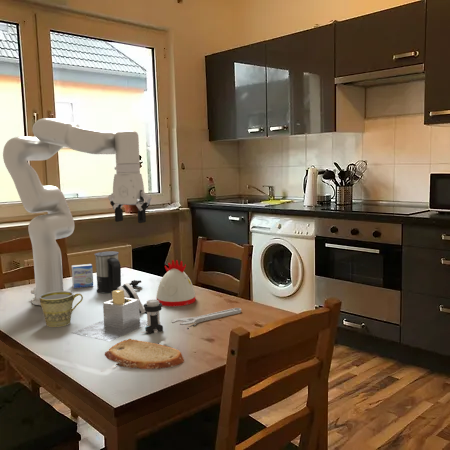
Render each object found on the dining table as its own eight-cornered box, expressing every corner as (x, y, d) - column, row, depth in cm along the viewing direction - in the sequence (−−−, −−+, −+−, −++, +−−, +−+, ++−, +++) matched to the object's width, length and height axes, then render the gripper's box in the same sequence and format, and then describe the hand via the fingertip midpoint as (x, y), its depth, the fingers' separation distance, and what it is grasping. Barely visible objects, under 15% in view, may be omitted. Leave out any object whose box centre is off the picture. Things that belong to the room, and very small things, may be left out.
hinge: (150, 314, 170) (138, 288, 168) (136, 321, 169) (125, 294, 166) (137, 302, 185) (127, 277, 183) (125, 308, 184) (114, 283, 181)
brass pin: (112, 323, 158) (109, 292, 157) (121, 320, 161) (118, 289, 160) (120, 325, 156) (117, 293, 155) (129, 322, 159) (126, 290, 158)
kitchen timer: (186, 307, 178) (184, 264, 176) (150, 304, 182) (148, 262, 180) (201, 297, 191) (200, 257, 189) (166, 294, 195) (165, 255, 193)
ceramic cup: (45, 334, 153) (43, 301, 152) (38, 325, 162) (35, 294, 160) (89, 325, 160) (87, 294, 159) (79, 317, 169) (77, 287, 167)
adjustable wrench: (238, 311, 173) (238, 306, 173) (248, 316, 168) (248, 311, 168) (169, 324, 161) (169, 319, 160) (178, 330, 155) (178, 324, 155)
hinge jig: (71, 336, 151) (69, 309, 150) (116, 318, 167) (114, 294, 166) (110, 344, 143) (108, 316, 142) (152, 324, 160) (151, 299, 159)
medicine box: (73, 288, 207) (72, 267, 206) (72, 285, 211) (71, 265, 210) (93, 286, 210) (92, 265, 209) (92, 283, 214) (91, 263, 213)
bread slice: (188, 364, 130) (188, 350, 129) (117, 379, 122) (116, 364, 121) (164, 342, 146) (163, 329, 145) (100, 354, 138) (99, 340, 137)
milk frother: (91, 291, 202) (89, 253, 200) (121, 282, 215) (119, 247, 213) (116, 296, 194) (114, 257, 192) (146, 287, 207) (144, 250, 205)
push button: (145, 340, 147) (143, 305, 145) (137, 335, 151) (136, 301, 150) (166, 335, 150) (165, 301, 149) (158, 330, 155) (157, 297, 153)
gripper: (100, 170, 169) (102, 222, 171) (141, 169, 160) (143, 224, 163) (115, 169, 176) (118, 219, 178) (156, 169, 167) (158, 221, 169)
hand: (130, 221), depth 170 cm, fingers open, 9 cm apart
